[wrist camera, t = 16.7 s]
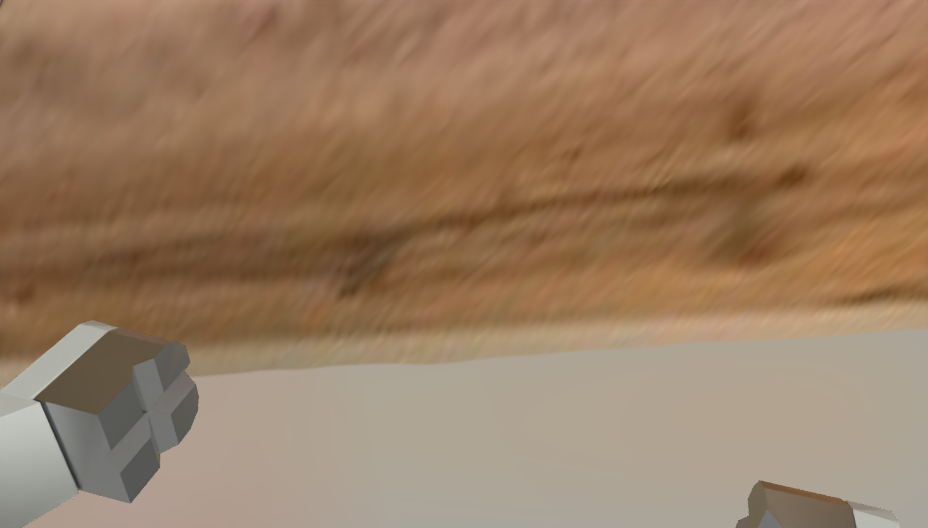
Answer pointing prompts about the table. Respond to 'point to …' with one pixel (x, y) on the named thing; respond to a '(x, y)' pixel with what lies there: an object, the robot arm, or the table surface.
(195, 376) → the table surface
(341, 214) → the table surface
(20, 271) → the table surface
